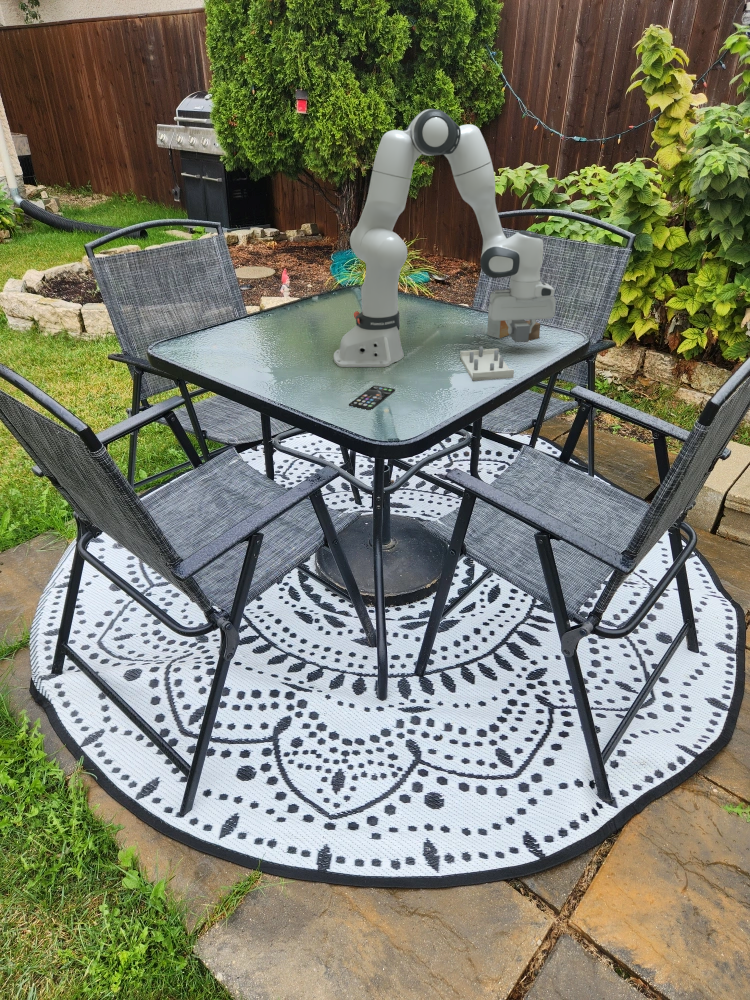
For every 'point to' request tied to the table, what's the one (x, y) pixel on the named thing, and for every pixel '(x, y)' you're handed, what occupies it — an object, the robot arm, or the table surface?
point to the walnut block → (534, 331)
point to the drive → (520, 331)
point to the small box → (497, 328)
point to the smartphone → (372, 397)
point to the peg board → (485, 364)
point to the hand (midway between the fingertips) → (519, 333)
